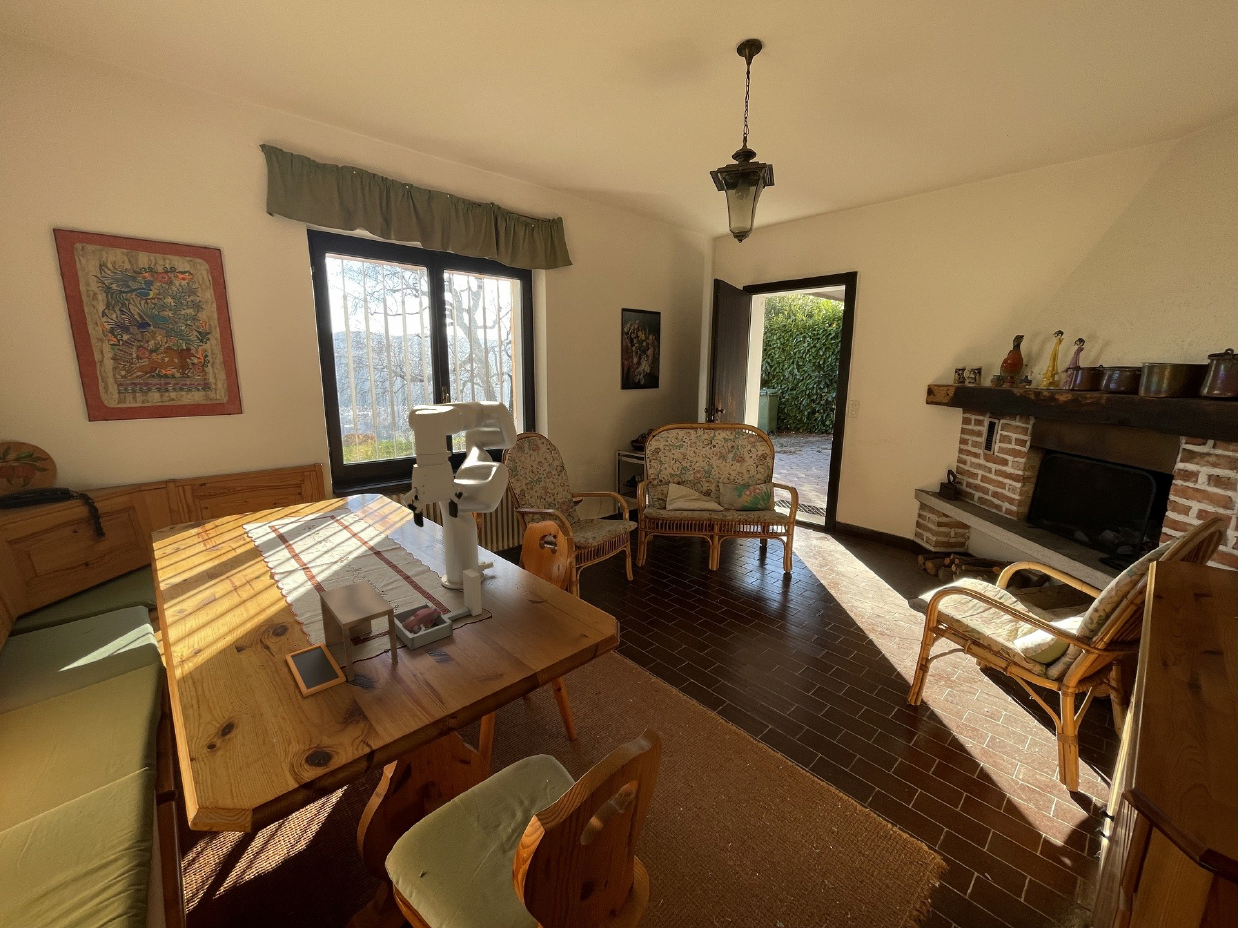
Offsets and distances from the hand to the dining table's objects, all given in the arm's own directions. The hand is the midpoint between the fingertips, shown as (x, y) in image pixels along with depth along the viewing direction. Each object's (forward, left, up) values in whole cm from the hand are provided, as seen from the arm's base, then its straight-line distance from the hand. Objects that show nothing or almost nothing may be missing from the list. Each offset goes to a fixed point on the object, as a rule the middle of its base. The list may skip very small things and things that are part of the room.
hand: (437, 521), depth 131 cm
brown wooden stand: (+24, +10, -24) cm, 35 cm away
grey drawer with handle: (+5, +10, -24) cm, 26 cm away
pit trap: (+33, +10, -24) cm, 42 cm away
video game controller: (+10, +10, -24) cm, 28 cm away
